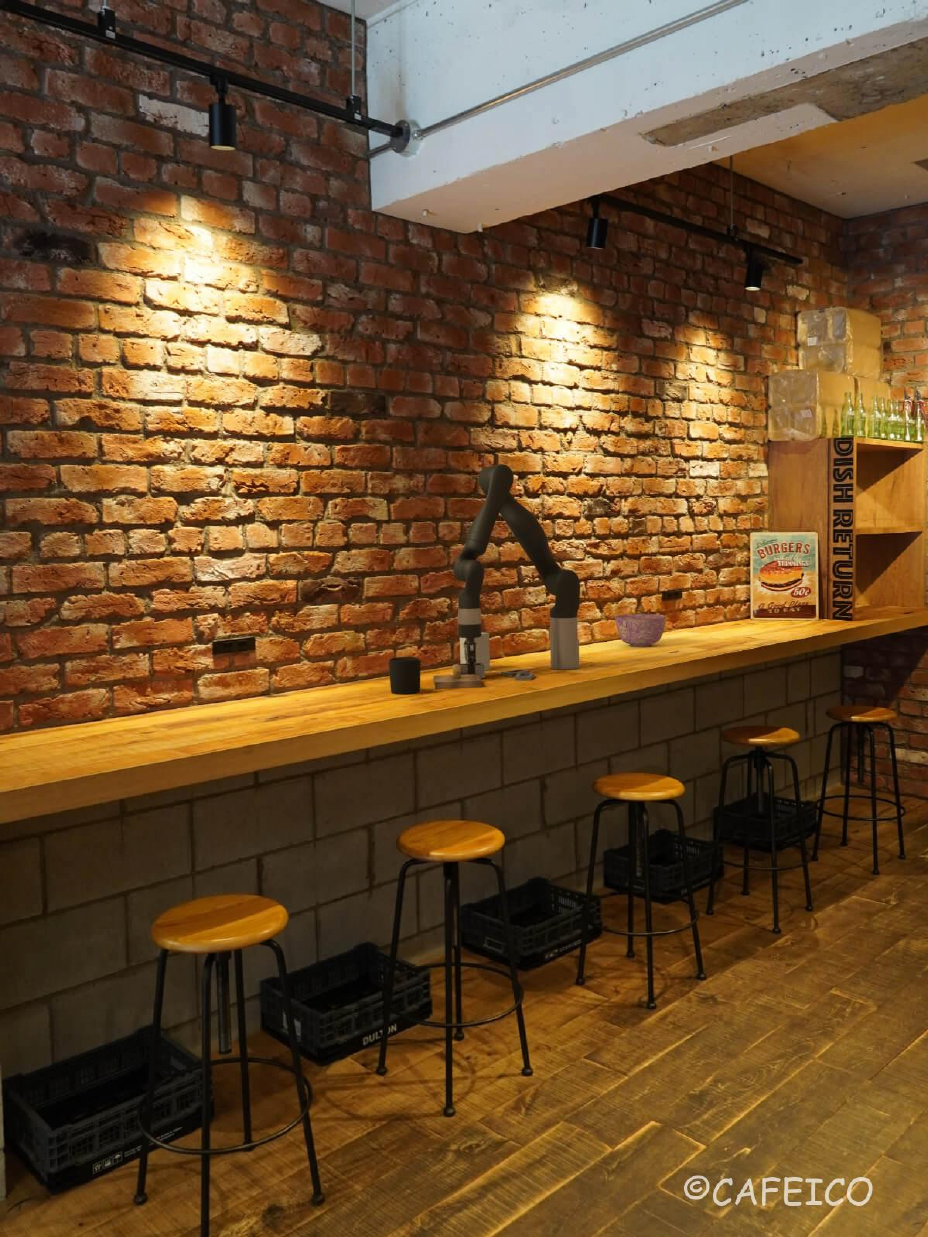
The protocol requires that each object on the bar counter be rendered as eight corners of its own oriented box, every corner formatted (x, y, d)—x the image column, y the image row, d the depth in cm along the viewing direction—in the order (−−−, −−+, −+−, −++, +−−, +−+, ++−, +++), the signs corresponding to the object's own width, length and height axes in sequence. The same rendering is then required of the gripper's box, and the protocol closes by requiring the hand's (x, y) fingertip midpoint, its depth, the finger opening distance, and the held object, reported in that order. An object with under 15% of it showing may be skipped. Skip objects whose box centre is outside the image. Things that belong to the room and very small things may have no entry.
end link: (482, 675, 338) (482, 662, 338) (484, 677, 332) (484, 665, 332) (454, 676, 337) (454, 663, 337) (456, 678, 331) (456, 666, 331)
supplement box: (490, 670, 352) (489, 632, 351) (474, 672, 347) (473, 634, 346) (476, 668, 357) (475, 631, 356) (459, 670, 353) (458, 633, 351)
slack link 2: (518, 676, 336) (518, 672, 336) (534, 676, 335) (534, 672, 335) (515, 680, 328) (515, 676, 328) (530, 680, 327) (530, 676, 327)
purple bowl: (611, 648, 402) (610, 618, 401) (619, 642, 421) (618, 614, 420) (663, 649, 396) (663, 619, 395) (669, 643, 415) (669, 614, 414)
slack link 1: (519, 672, 344) (519, 669, 343) (529, 674, 340) (529, 670, 340) (501, 675, 339) (501, 671, 338) (511, 677, 335) (511, 673, 335)
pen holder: (427, 691, 311) (426, 657, 310) (408, 695, 303) (407, 661, 303) (402, 688, 316) (401, 656, 316) (383, 693, 309) (382, 660, 308)
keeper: (477, 680, 329) (477, 661, 329) (481, 687, 315) (481, 667, 315) (433, 682, 328) (433, 663, 328) (435, 688, 315) (434, 669, 314)
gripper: (483, 624, 326) (484, 677, 328) (479, 620, 341) (480, 671, 342) (459, 624, 326) (460, 678, 327) (456, 620, 340) (457, 671, 342)
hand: (470, 674), depth 335 cm, fingers closed on end link, 6 cm apart
